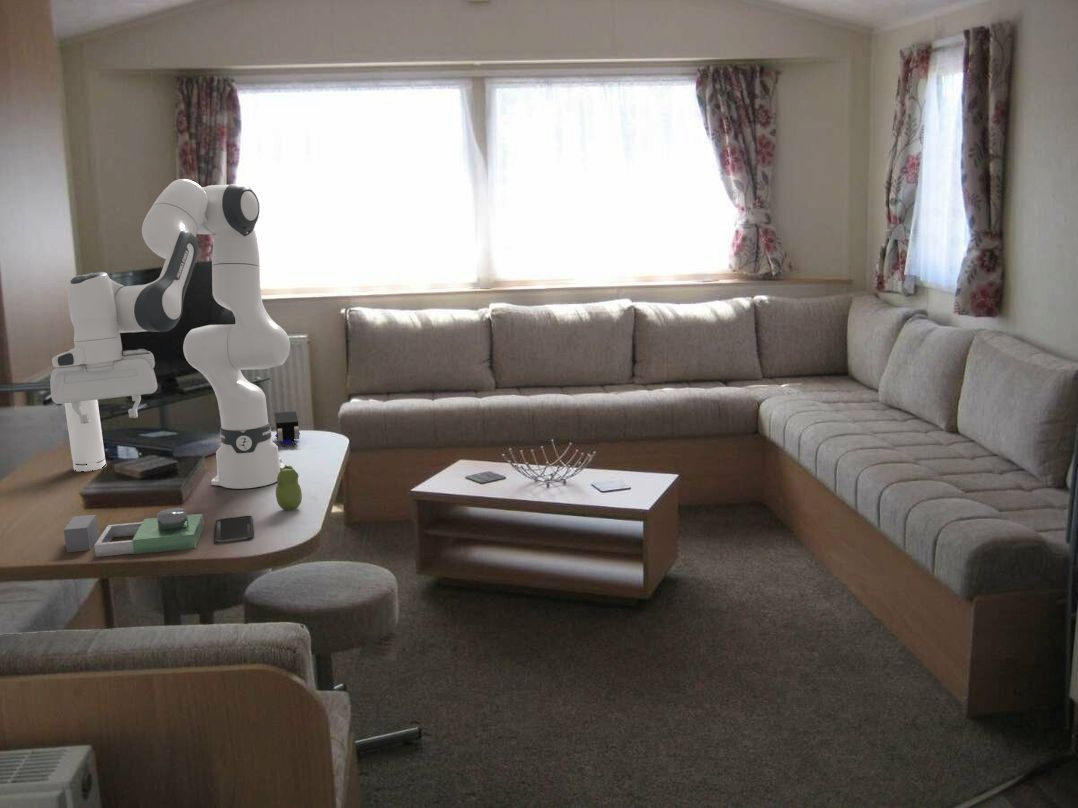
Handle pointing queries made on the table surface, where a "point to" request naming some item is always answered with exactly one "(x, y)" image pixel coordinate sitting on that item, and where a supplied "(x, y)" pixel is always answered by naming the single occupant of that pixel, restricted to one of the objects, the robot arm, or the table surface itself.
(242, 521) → the phone
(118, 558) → the table surface
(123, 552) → the multicoloured piece
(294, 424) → the figurine character
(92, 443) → the bottle
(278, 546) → the table surface
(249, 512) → the table surface
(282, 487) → the pear
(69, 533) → the grey rectangular cuboid
